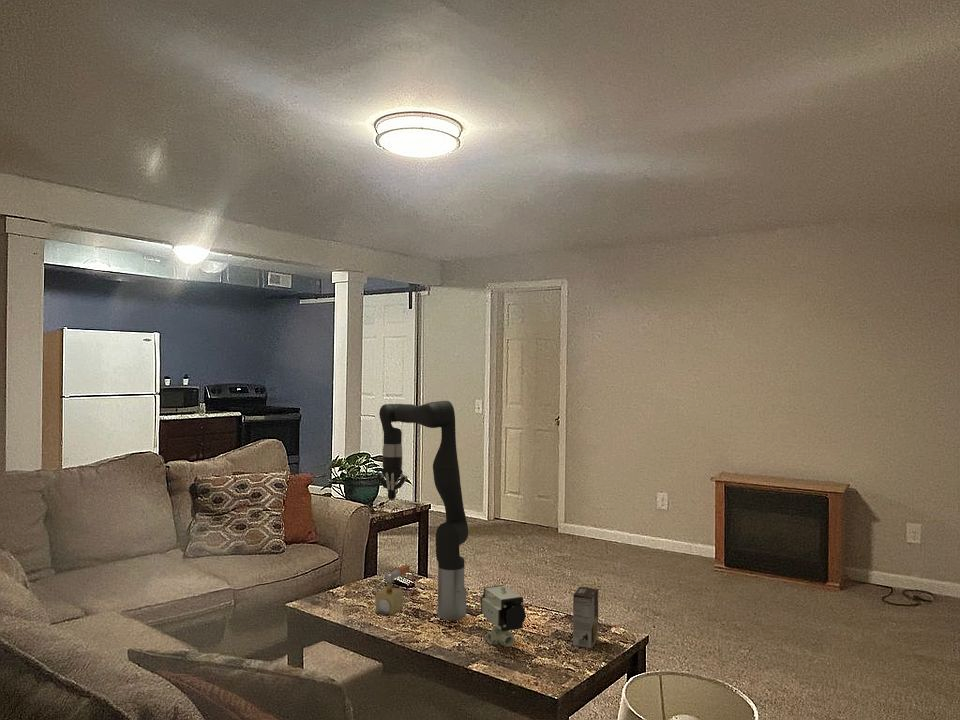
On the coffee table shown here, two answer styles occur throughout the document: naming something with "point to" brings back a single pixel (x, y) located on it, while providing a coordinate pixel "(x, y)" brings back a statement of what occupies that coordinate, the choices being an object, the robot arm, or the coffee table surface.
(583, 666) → the coffee table surface
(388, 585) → the valve housing
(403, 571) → the valve lever
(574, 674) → the coffee table surface
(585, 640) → the coffee box
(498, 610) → the ball valve
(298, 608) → the coffee table surface
